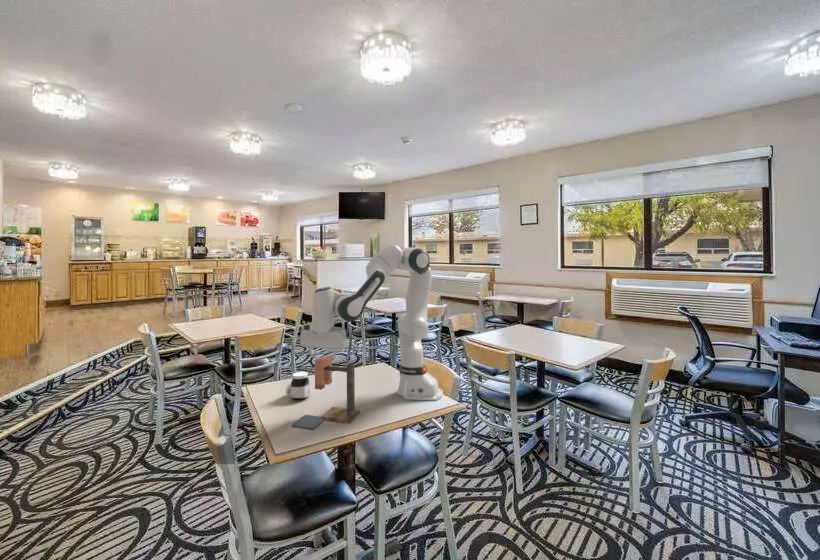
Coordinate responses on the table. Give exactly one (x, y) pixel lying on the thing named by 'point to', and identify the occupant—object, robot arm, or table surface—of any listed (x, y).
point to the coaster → (308, 422)
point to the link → (323, 372)
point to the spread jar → (299, 386)
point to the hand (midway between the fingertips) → (323, 358)
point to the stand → (350, 412)
